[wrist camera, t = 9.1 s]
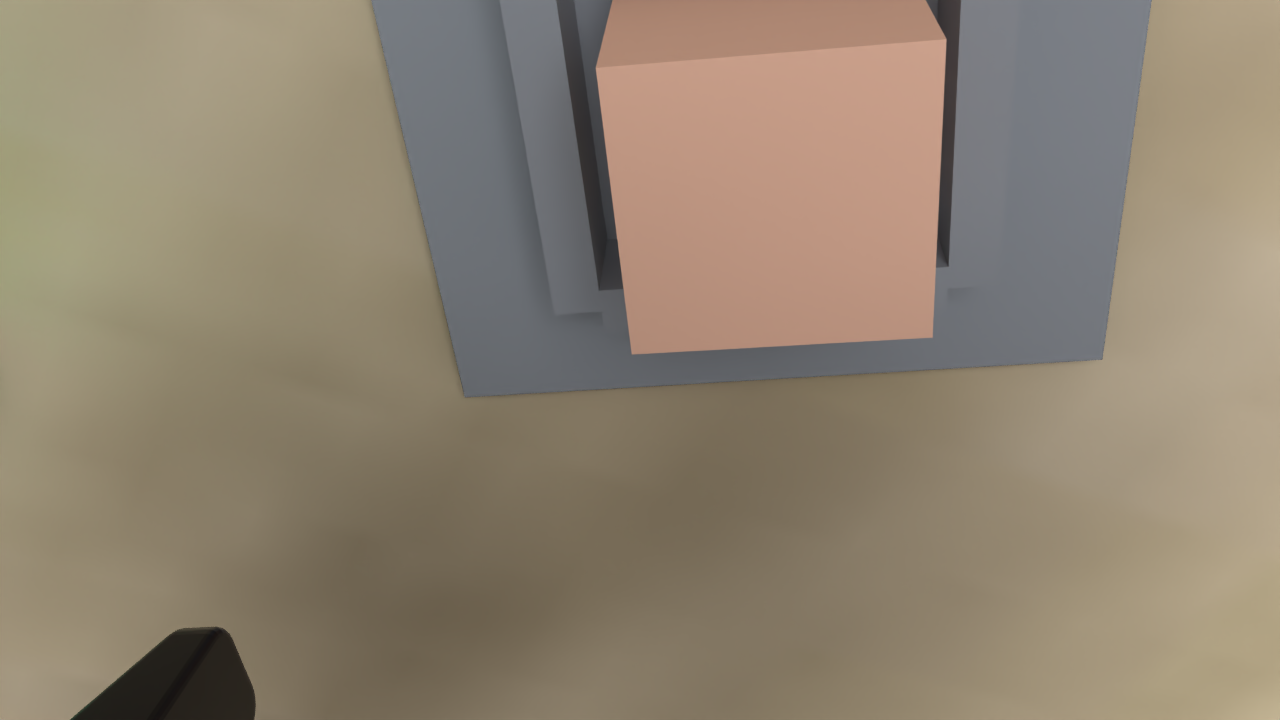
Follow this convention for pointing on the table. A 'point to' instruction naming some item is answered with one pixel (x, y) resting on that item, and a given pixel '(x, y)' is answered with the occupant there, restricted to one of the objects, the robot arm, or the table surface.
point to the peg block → (773, 169)
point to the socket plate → (584, 216)
